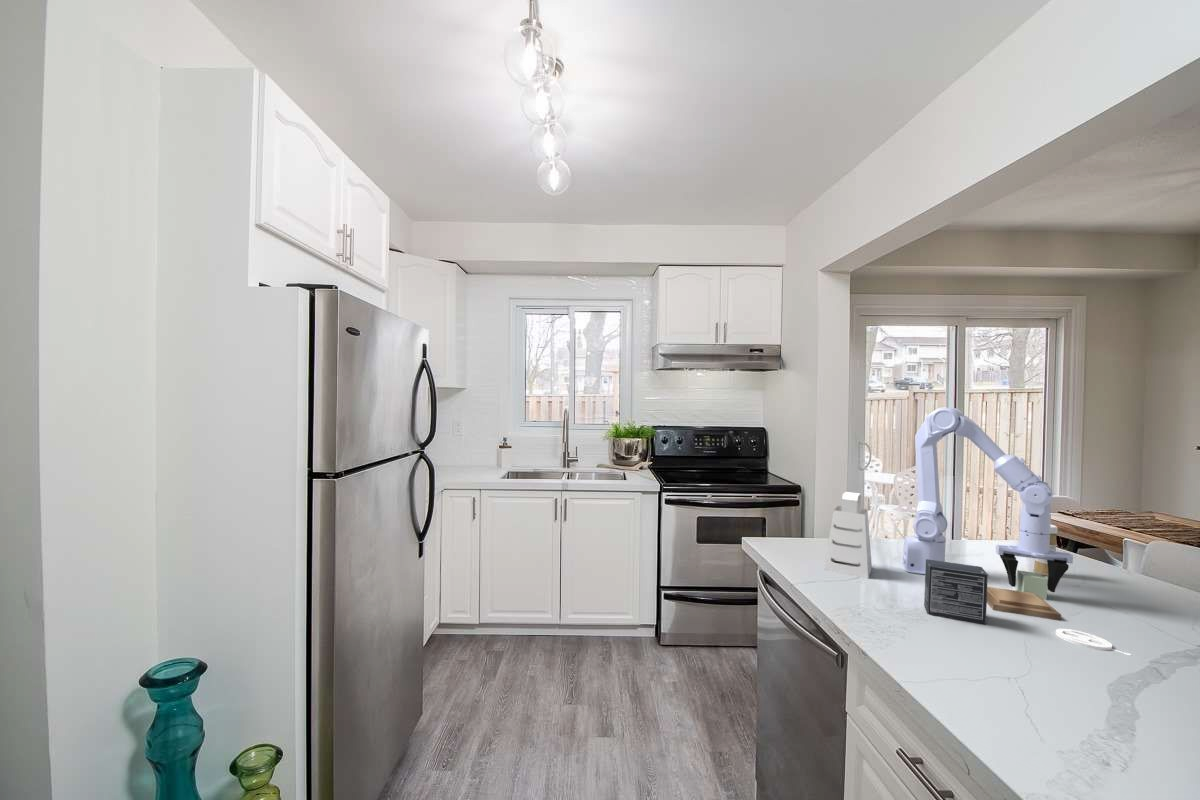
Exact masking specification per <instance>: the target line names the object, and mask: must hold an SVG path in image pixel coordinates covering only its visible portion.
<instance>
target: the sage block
mask: <svg viewBox="0 0 1200 800" xmlns="http://www.w3.org/2000/svg"><path fill="white" fill-rule="evenodd" d="M1047 583H1048V577H1047V576H1045V575H1042V574H1040V573H1035V572H1034V571H1025V570H1019V569H1017V570H1016V586H1015V591H1022V592H1029V593H1033V594H1035V595H1038V596H1039V597H1041V598H1042V599H1043V600H1044V599H1045V600H1044V601H1047V598H1048V597H1047V596H1048V587H1047Z"/></svg>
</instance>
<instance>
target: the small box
mask: <svg viewBox="0 0 1200 800" xmlns="http://www.w3.org/2000/svg"><path fill="white" fill-rule="evenodd" d="M924 575H925V576H924V577H925V578H924V598H923V599H924V601H923V606H924V609H925V612H926V614H927V615H931V616H935V617H942V618H946V619H953V620H957V621H958V620H959V621H965V622H970V623H976V624H980V625H987V624H988V620H987V606H988V604H987V587H988V577H989V574H988V573H987V571H986V570H985V569H984V568H983V567H982V566H979V565H972V564H965V563H964V564H963V563H955V562H949V561H945V562H943V561H936V560H929V559H926V571H925V574H924Z"/></svg>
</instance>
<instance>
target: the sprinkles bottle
mask: <svg viewBox="0 0 1200 800" xmlns="http://www.w3.org/2000/svg"><path fill="white" fill-rule="evenodd" d="M1058 531H1059V530H1058V526H1056V524H1055V525H1054V524H1051V525H1050V542H1049V550H1051V551H1057V535H1058ZM1033 559H1034V566H1033V567H1034V569H1033V572H1034V573H1040V574H1042V575H1043V576H1044V577H1048V563H1047V560H1044V559H1036V558H1033Z"/></svg>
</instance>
